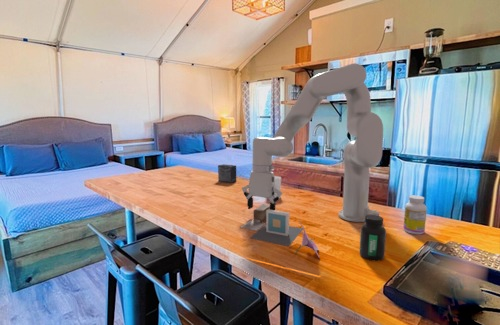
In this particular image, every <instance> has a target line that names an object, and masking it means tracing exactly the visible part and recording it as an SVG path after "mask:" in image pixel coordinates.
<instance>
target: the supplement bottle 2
mask: <svg viewBox="0 0 500 325" xmlns="http://www.w3.org/2000/svg"><path fill="white" fill-rule="evenodd" d="M408 200H409V201H408V202H407V203H405V206H404V215H403V216H404V218H403V231H405V232H406V233H409V234H411V235H418V236H419V235H423V234H425V230H426V222H427V211H428V207H427V206H426V204H425V203H424V202H425V197H424V196H422V195H415V194H413V195H409V196H408Z"/></svg>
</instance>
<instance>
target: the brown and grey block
mask: <svg viewBox="0 0 500 325" xmlns="http://www.w3.org/2000/svg"><path fill="white" fill-rule="evenodd" d="M268 209H270V204H265V203H262V204H261V205H259V206H258V207H257V208H254V209H253V213H252V214H253V215H252V216H253V219H252V220H249V221H247V222H246V223H244V224H242V225H241V226H240V229H245V230H251V231H256V232H258V231H259V230H260V229H261V228H262V227H264V226H265V225H266V222H265V221H266V210H268Z"/></svg>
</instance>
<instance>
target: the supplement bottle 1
mask: <svg viewBox="0 0 500 325" xmlns="http://www.w3.org/2000/svg"><path fill="white" fill-rule="evenodd" d="M386 239H387V229H386V228H385V227H384V218H383V217H382V216H380V215H379V216H377V215H366V216H365V222H364V223H363V224H362V225H361V227H360V237H359V255H360V256H361V257H362V258H363V259H365V260H368V259H369V260H368V261H372V260H375V261H374V262H379V261H378V260H380V261H382V260H383V259H384V258H385V251H386Z"/></svg>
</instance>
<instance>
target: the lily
mask: <svg viewBox="0 0 500 325" xmlns="http://www.w3.org/2000/svg"><path fill="white" fill-rule="evenodd" d="M297 220H298V222H299V224H300V226H301V227H302V228H303V230H302V231H301V232H300V234H302V241H301V245H299V247H298V248H297V249H296V251H295V253H294V255H296V254H297V252H298V251H299V250H300V249H301V248H302V247H306V248H309V249H311V250H312V251H314V252H315V254H316V255H317V256H318V259H320V255H319V253H318V251H319V248H318V246H317V244H316V243H315V242H314V238H313V237H311V238H310V237H309V236H308V234H307V233H306V230H305V227H304V226H303V224H302V223H301V222H300V221H299V219H297Z"/></svg>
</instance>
